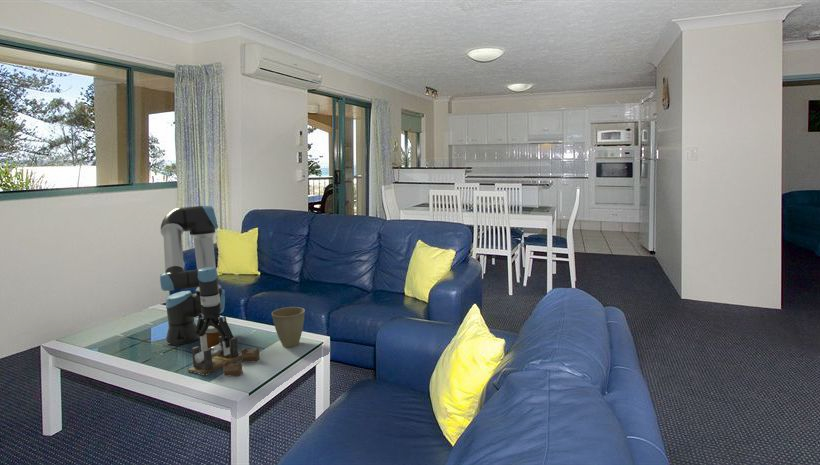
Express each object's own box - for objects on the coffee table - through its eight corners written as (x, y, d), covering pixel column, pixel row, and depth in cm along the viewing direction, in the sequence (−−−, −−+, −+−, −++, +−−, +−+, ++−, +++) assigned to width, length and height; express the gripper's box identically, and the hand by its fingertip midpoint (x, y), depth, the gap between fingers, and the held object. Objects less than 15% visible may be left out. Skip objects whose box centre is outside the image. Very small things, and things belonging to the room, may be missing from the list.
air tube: (202, 364, 205) (201, 354, 204) (194, 362, 207) (193, 352, 206) (235, 348, 221) (234, 339, 220) (228, 347, 223) (227, 338, 222)
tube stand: (238, 376, 201) (237, 363, 201) (224, 375, 203) (222, 363, 202) (260, 359, 218) (259, 347, 217) (246, 358, 219) (245, 347, 218)
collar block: (188, 371, 208) (185, 350, 206) (227, 353, 226) (225, 333, 225) (205, 375, 203) (202, 353, 202) (243, 356, 222) (241, 336, 220)
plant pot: (305, 349, 227) (302, 315, 225) (271, 351, 226) (268, 317, 224) (308, 337, 242) (306, 305, 239) (277, 339, 241) (274, 307, 238)
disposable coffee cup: (206, 356, 224) (203, 330, 222) (203, 349, 232) (201, 324, 230) (228, 351, 228) (225, 326, 226) (225, 345, 237) (222, 320, 235)
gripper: (182, 303, 213) (188, 351, 216) (224, 310, 202) (230, 360, 205) (197, 299, 220) (202, 345, 223) (239, 304, 208) (243, 353, 211)
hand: (215, 352), depth 214 cm, fingers open, 13 cm apart
